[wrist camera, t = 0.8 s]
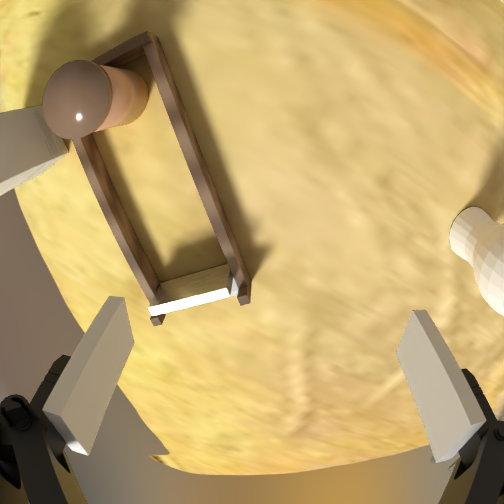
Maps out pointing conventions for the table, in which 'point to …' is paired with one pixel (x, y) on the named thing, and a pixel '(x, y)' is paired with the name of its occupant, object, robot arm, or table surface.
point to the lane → (194, 160)
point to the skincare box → (26, 146)
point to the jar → (92, 98)
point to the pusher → (194, 290)
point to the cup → (482, 252)
